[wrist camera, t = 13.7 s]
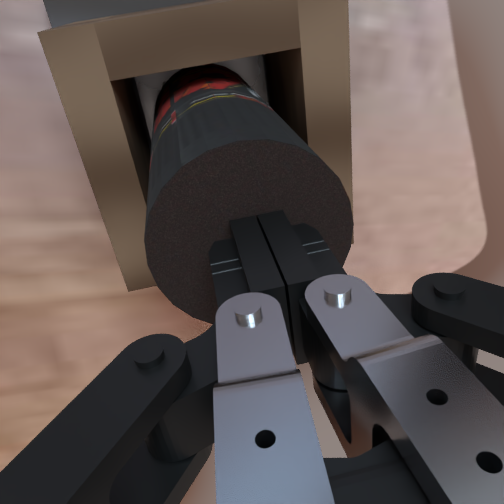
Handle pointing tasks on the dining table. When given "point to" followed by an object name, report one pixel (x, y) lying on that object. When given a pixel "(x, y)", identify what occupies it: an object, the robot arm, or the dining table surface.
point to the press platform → (245, 67)
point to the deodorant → (227, 180)
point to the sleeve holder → (183, 56)
